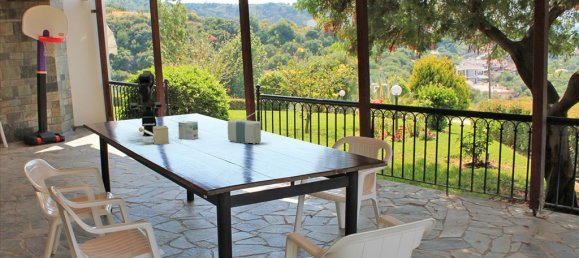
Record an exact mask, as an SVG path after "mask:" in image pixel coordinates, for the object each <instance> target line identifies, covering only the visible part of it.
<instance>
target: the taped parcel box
mask: <svg viewBox="0 0 579 258" xmlns="http://www.w3.org/2000/svg"><path fill="white" fill-rule="evenodd" d="M258 112H259V110H257V111H255V112H253V113H251V114H249V115H248V116H246V117H244V118H242V119H231V120H227V140H228V141H229V142H231V141H232V142H231V143H233V142H235V143H240V142H241V143H242V144H248V143H253V144H252V145H256V144H255V143H257V144H259V143H258V142H260V143H261V141H262V130H261V129H262V127H261V125H262V122H261V121H255V120H246V119H247V118H249V117H251V116H252V115H255V113H258Z"/></svg>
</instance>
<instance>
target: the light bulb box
mask: <svg viewBox="0 0 579 258" xmlns="http://www.w3.org/2000/svg"><path fill="white" fill-rule="evenodd" d="M177 123H178V125H177V126H178V127H177V128H178V139H179V140H195V139H199V123H198V121H190V120H189V121H188V120H182V121H178V122H177Z"/></svg>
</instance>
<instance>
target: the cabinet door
mask: <svg viewBox="0 0 579 258" xmlns="http://www.w3.org/2000/svg"><path fill="white" fill-rule="evenodd" d="M138 131H139V133H144V132H146V133H148V134H150V135H152V136H154V134H153V133H151V132H149V131H147V130H144V127H142V126H140V127H138ZM152 136H151V137H152Z"/></svg>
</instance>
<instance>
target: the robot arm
mask: <svg viewBox="0 0 579 258" xmlns="http://www.w3.org/2000/svg"><path fill="white" fill-rule="evenodd" d="M137 80H138V81H137V86H140V88H139V89H138V93H139V94H140V103H137V102H130V105H129V106H130V109H132V110H133V111H135V114H136V115H137V118H138V119H137V120H140V114H139V108H144V112H143V113H142V117H141V125H142V126H141V127H142V128H143V129H144V130H147V131H149V132H151V133H153V126H158V124H157V123H158V121H157V118H156V114H157V111H158V110H160V109H161V108H162V102H160V101H156V102H155V99H154V98H152V97H153V96H152V95H153V94H152V91H153V89H154V87H155V83H156V78H155V76H154V74H153V73H152V71H151V70H143V71H142V73H139V75H138V76H137ZM152 108H153V109H152ZM142 136H145V137H146V136H147V137H152V135H150V134H148V133H146V132H144V131H143V134H142Z"/></svg>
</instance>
